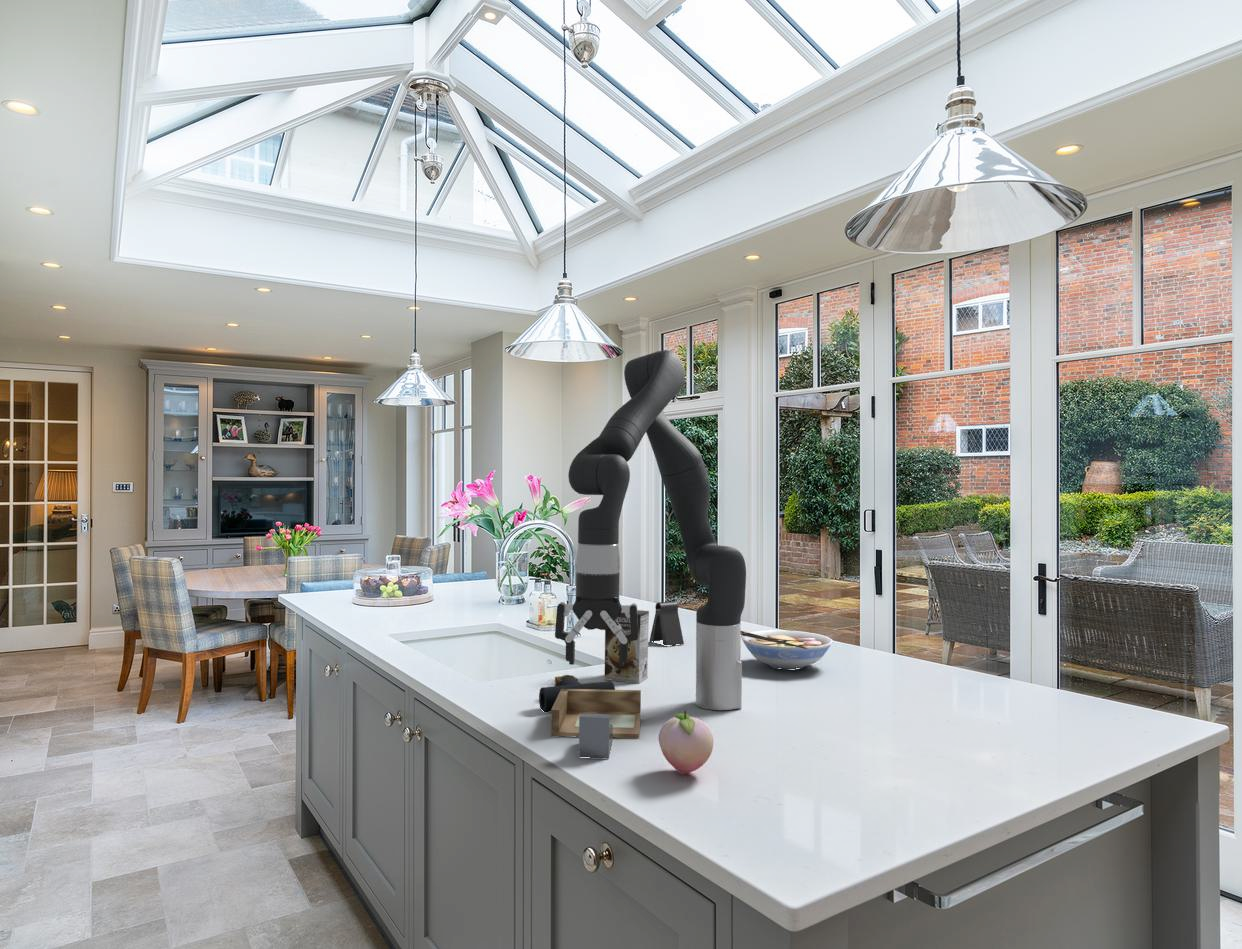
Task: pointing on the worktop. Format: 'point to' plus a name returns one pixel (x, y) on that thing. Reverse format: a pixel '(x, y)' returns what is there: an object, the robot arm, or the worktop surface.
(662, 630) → the dark folding stand
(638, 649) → the coffee box
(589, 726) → the angle bracket
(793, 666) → the ramen bowl
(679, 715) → the decorative fruit
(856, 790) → the worktop surface
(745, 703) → the worktop surface
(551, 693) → the pipe connector
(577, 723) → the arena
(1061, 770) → the worktop surface
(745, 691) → the worktop surface
